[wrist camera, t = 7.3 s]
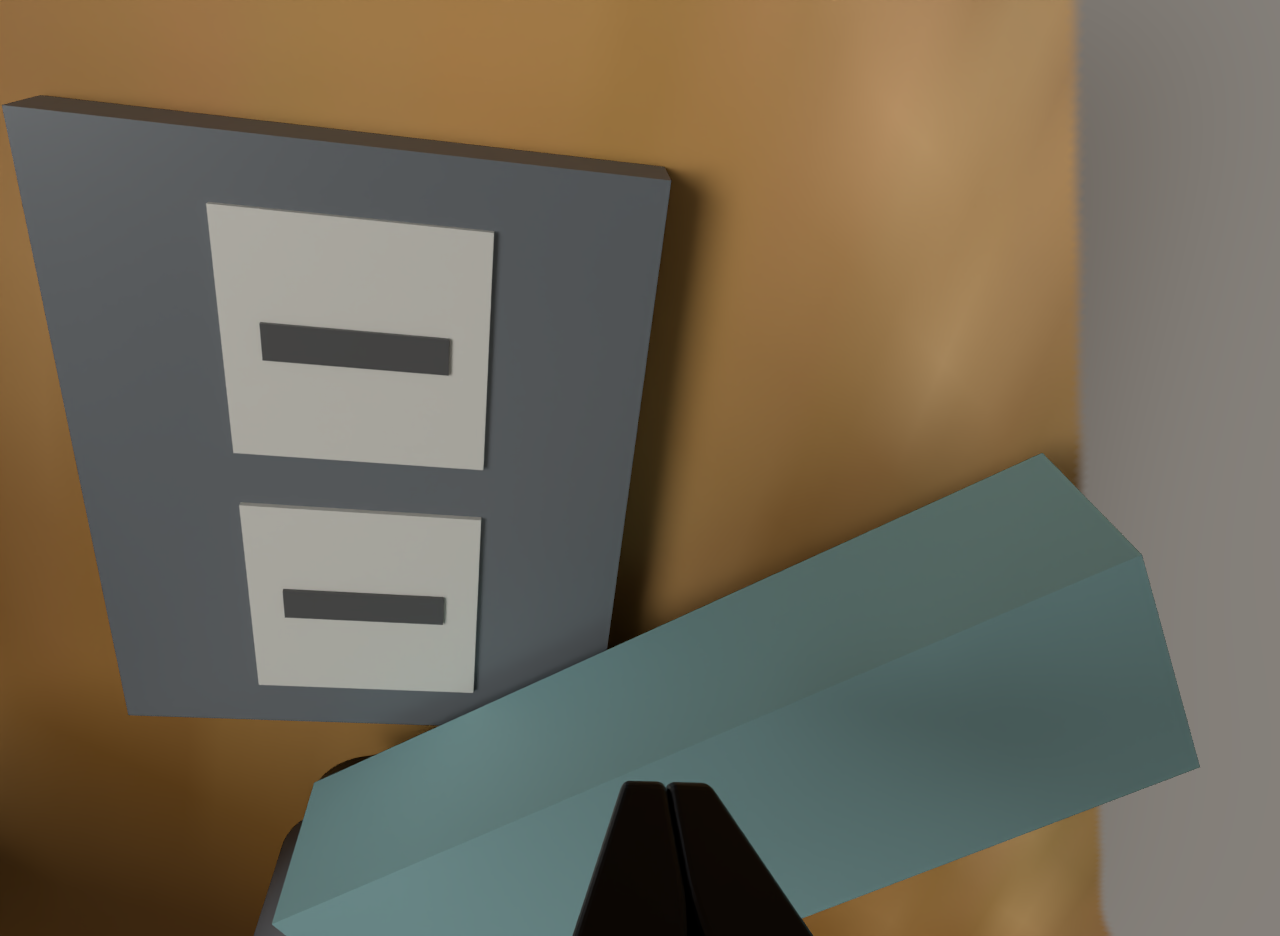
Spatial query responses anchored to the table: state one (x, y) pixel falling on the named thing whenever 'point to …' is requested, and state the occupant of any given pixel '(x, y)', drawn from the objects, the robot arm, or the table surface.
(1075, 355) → the table surface
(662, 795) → the robot arm
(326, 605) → the label panel
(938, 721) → the swing arm
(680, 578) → the table surface
